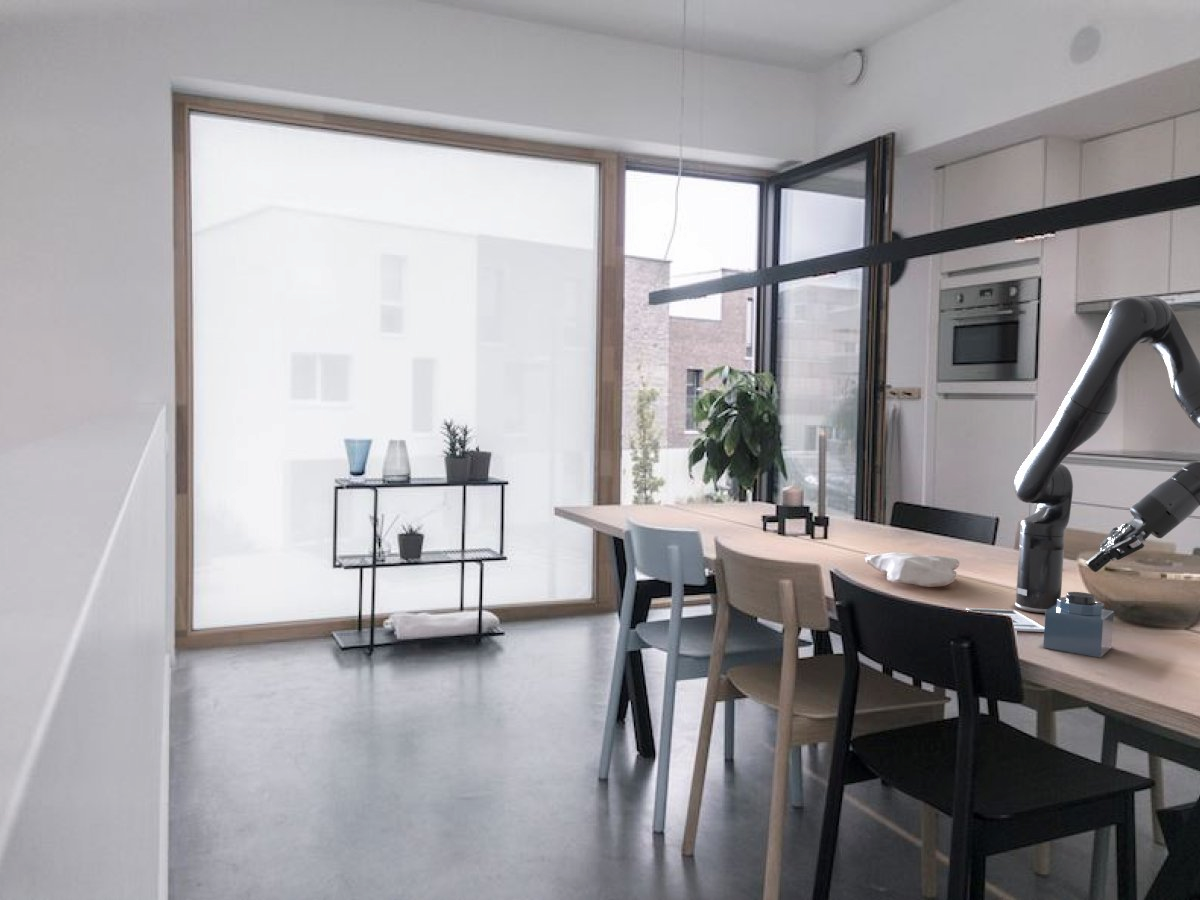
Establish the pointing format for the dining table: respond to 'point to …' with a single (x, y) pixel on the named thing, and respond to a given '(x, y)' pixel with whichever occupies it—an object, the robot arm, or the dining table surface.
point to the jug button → (1080, 598)
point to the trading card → (1015, 619)
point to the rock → (915, 568)
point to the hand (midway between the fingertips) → (1090, 567)
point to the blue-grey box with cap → (1078, 628)
